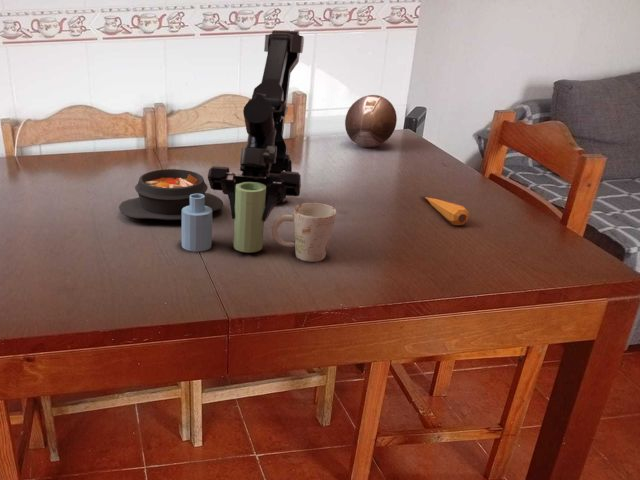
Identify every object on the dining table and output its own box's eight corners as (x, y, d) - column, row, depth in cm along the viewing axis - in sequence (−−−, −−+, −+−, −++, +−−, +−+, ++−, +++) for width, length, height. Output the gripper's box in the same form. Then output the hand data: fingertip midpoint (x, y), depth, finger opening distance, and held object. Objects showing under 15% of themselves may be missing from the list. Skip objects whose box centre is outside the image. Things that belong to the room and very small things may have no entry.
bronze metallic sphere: (343, 152, 209) (349, 100, 201) (341, 139, 221) (347, 89, 214) (394, 154, 207) (403, 101, 199) (390, 140, 219) (397, 91, 211)
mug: (330, 265, 140) (336, 218, 135) (267, 261, 142) (270, 214, 137) (331, 249, 147) (336, 204, 142) (271, 245, 149) (274, 200, 144)
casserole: (208, 195, 176) (209, 162, 172) (234, 220, 161) (236, 185, 157) (111, 205, 170) (110, 171, 166) (129, 232, 155) (127, 196, 151)
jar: (234, 240, 149) (237, 181, 142) (263, 242, 148) (266, 182, 142) (232, 251, 144) (234, 190, 137) (261, 253, 143) (265, 192, 137)
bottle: (176, 243, 150) (176, 194, 144) (201, 238, 153) (202, 189, 147) (191, 253, 145) (191, 203, 140) (216, 247, 148) (218, 197, 142)
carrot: (465, 230, 157) (475, 212, 156) (448, 223, 156) (459, 205, 154) (427, 208, 175) (436, 191, 173) (412, 202, 174) (421, 185, 172)
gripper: (210, 126, 139) (197, 198, 136) (304, 132, 135) (293, 206, 132) (217, 154, 150) (205, 221, 147) (304, 160, 146) (294, 229, 143)
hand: (248, 219), depth 142 cm, fingers closed on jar, 6 cm apart
